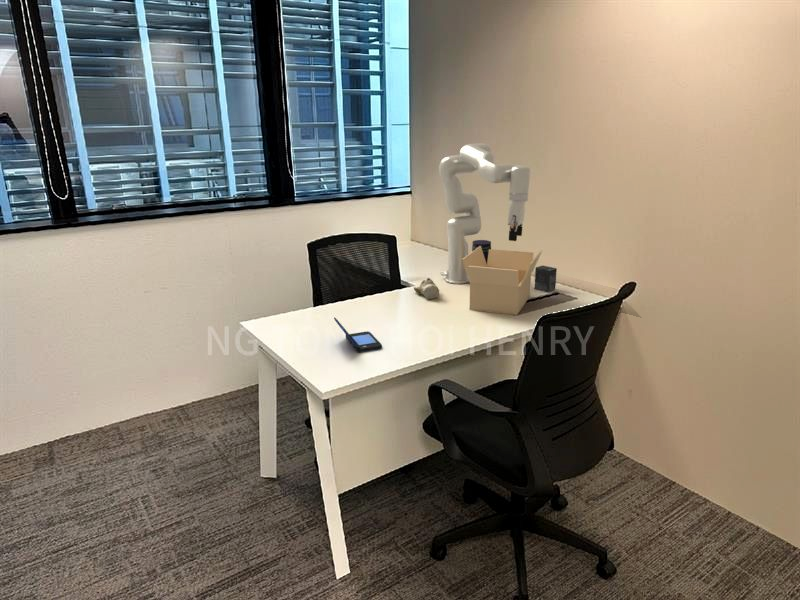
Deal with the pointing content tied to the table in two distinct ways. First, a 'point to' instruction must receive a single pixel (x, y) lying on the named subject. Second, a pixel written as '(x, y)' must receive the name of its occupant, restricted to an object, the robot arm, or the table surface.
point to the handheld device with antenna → (361, 340)
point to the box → (545, 278)
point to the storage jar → (484, 245)
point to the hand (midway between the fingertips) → (515, 238)
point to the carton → (498, 280)
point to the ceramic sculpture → (428, 289)
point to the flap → (531, 268)
